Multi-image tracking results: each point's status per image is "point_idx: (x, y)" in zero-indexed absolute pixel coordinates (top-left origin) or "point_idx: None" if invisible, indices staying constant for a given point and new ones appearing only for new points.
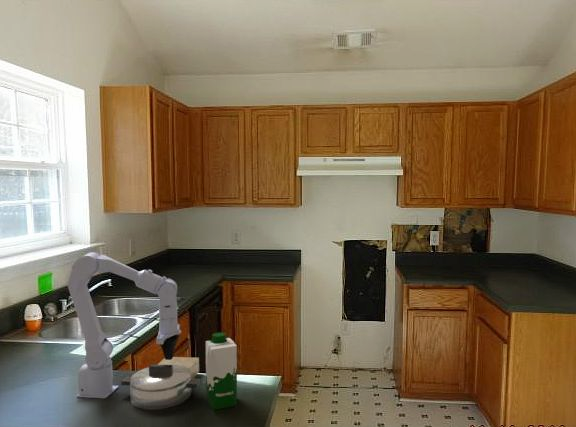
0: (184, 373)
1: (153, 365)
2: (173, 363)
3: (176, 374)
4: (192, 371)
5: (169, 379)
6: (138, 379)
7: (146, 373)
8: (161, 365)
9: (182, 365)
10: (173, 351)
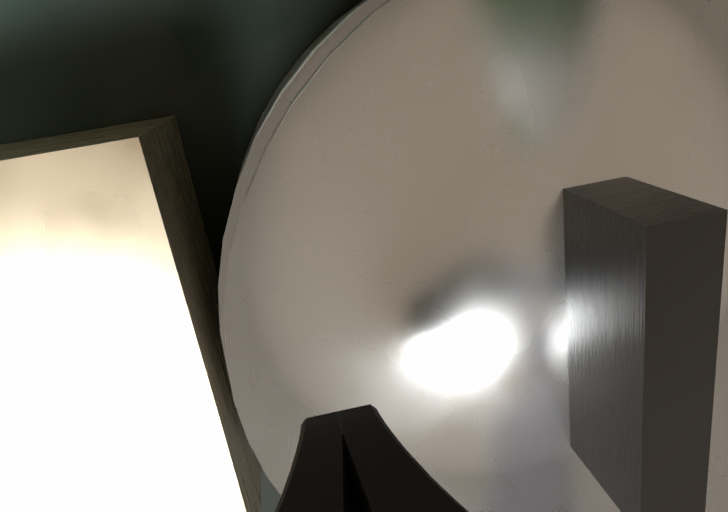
0: (500, 37)
1: (677, 485)
2: (89, 439)
3: (550, 141)
4: (65, 142)
5: (707, 147)
6: (715, 472)
7: (565, 496)
8: (669, 386)
9: (100, 294)
10: (340, 484)
